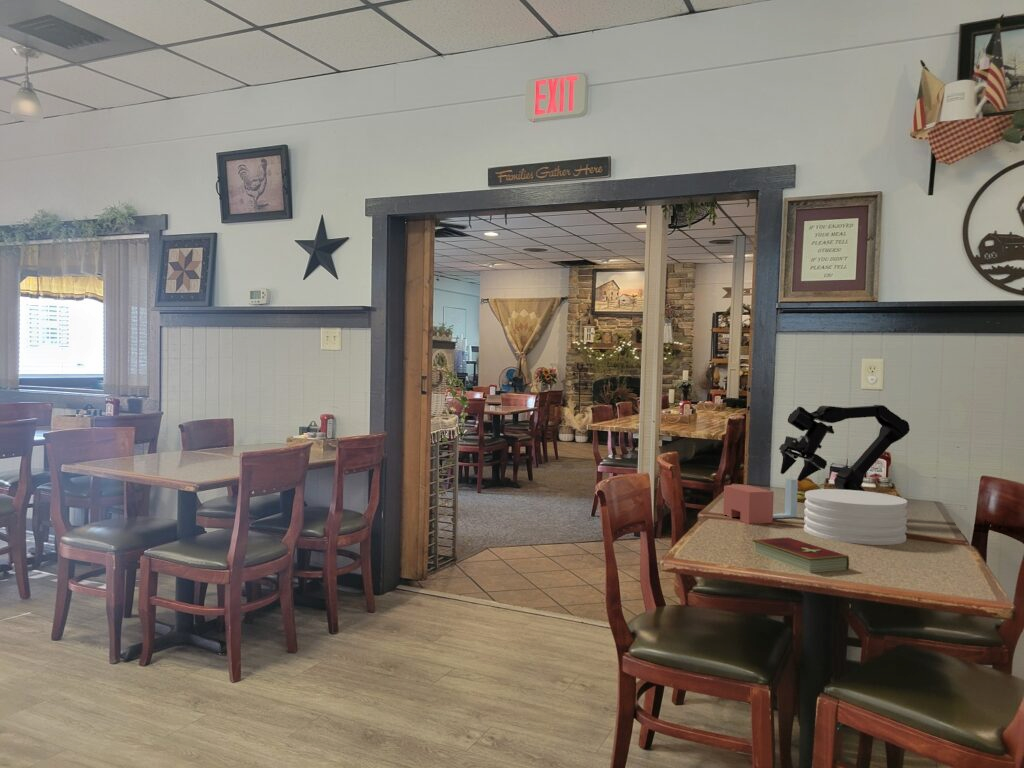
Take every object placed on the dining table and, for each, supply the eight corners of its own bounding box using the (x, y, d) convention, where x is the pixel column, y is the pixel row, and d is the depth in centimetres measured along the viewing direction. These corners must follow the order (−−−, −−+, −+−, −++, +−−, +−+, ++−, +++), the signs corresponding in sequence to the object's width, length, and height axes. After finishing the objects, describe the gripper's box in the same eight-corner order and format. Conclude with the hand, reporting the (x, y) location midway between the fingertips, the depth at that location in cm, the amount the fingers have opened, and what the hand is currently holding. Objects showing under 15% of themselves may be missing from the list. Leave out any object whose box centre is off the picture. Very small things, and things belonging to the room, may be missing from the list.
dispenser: (747, 514, 251) (748, 484, 251) (774, 522, 238) (775, 491, 238) (723, 515, 248) (724, 485, 248) (748, 523, 235) (749, 492, 235)
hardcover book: (788, 551, 201) (788, 536, 201) (848, 571, 181) (849, 554, 181) (752, 554, 197) (752, 538, 197) (810, 575, 177) (810, 557, 177)
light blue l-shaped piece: (790, 515, 250) (791, 478, 250) (796, 517, 247) (797, 479, 247) (757, 516, 246) (758, 479, 246) (763, 518, 243) (764, 480, 243)
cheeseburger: (795, 496, 290) (802, 472, 288) (820, 507, 282) (827, 483, 280) (781, 498, 283) (788, 474, 281) (806, 509, 275) (814, 484, 274)
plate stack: (919, 548, 207) (921, 507, 207) (813, 541, 213) (814, 501, 213) (889, 528, 235) (891, 491, 234) (796, 522, 240) (797, 487, 240)
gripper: (780, 421, 261) (757, 459, 260) (815, 432, 243) (790, 472, 243) (801, 437, 264) (779, 474, 264) (838, 448, 246) (814, 488, 246)
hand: (789, 477), depth 254 cm, fingers open, 9 cm apart
